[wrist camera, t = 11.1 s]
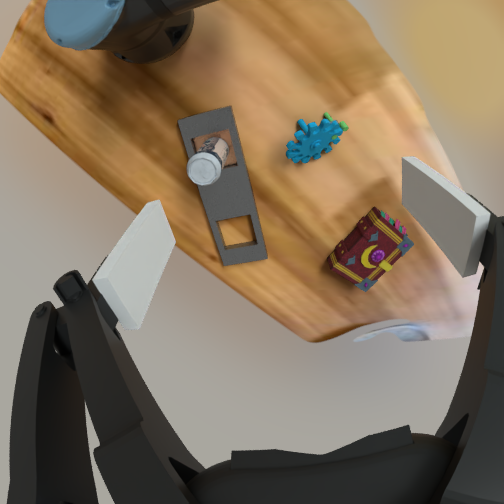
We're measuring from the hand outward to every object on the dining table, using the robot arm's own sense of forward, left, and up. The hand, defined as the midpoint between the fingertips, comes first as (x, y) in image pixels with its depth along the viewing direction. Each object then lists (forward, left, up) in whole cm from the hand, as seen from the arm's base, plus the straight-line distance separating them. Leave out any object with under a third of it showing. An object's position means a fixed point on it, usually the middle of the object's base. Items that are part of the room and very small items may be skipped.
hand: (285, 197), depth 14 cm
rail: (+12, -10, -35) cm, 38 cm away
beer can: (+4, -10, -35) cm, 36 cm away
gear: (+5, +7, -35) cm, 36 cm away
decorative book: (+29, +16, -35) cm, 48 cm away
